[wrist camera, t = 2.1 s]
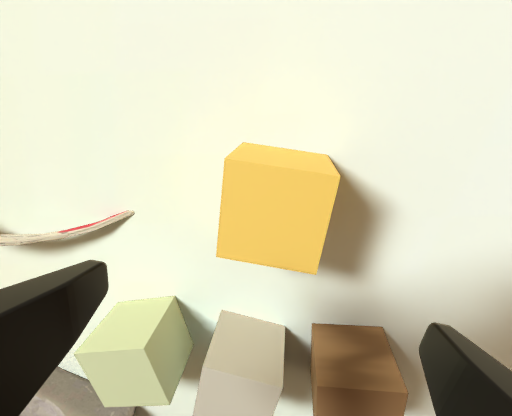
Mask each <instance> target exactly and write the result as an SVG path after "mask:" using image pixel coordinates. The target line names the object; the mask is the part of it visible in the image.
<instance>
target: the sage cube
mask: <svg viewBox="0 0 512 416" xmlns="http://www.w3.org/2000/svg"><path fill="white" fill-rule="evenodd" d="M193 346H194V344H193V342H192V339H191V336H190V334H189V331H188V329H187V326H186V323H185V321H184V318H183V316H182V313H181V310H180V308H179V305H178V302H177V300H176V297H175V296H168V297H159V298H150V299H141V300H132V301H124V302H118V303H117V304H116V305H115V306H114V307H113V309H112V310H111V311H110V312H109V313H108V314H107V316H106V317H105V318H104V319H103V320H102V321H101V323H100V324H99V325H98V326H97V327H96V328H95V330H94V331H93V332H92V333H91V334H90V335H89V337H88V338H87V339H86V340H85V341H84V342H83V344H82V345H81V346H80V347H79V348H78V349H77V351H76V352H75V353H74V355H75V357H76V359H77V360H78V362H79V364H80V366H81V367H82V369H83V371H84V373H85V374H86V376H87V378H88V379H89V381H90V383H91V385H92V386H93V388H94V390H95V392H96V393H97V395H98V397H99V398H100V400H101V402H102V404H103V405H104V407H129V406H158V405H170V403H171V401H172V398H173V396H174V393H175V391H176V388H177V386H178V383H179V381H180V378H181V376H182V373H183V371H184V368H185V366H186V363H187V361H188V358H189V356H190V353H191V351H192V348H193Z"/></svg>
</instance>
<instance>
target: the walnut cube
mask: <svg viewBox="0 0 512 416" xmlns="http://www.w3.org/2000/svg"><path fill="white" fill-rule="evenodd" d="M311 386H312V401H313V416H404V412H405V407H406V402H407V397H408V391H407V389H406V386H405V383H404V381H403V378H402V376H401V373H400V371H399V368H398V366H397V363H396V361H395V358H394V356H393V353H392V350H391V348H390V345H389V343H388V340H387V338H386V335H385V333H384V330H383V328H382V327H375V326H355V325H335V324H314V323H312V338H311Z"/></svg>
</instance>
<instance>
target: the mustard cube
mask: <svg viewBox="0 0 512 416" xmlns="http://www.w3.org/2000/svg"><path fill="white" fill-rule="evenodd" d="M340 177H341V176H340V174H339V173H338V171H337V170H336V168H335V166H334V165H333V163H332V162H331V160H330V158H329V157H328V155H325V154H318V153H312V152H305V151H298V150H292V149H285V148H278V147H272V146H265V145H258V144H252V143H245V142H243V143H242V144H241V145H240V146H238V147H237V148H236V149H235V150H234V151H233V152H231V153H230V154H229V155H228V156H227V157H226V158H225V161H224V172H223V184H222V195H221V207H220V218H219V230H218V242H217V253H216V257H220V258H225V259H231V260H236V261H242V262H247V263H253V264H259V265H264V266H270V267H275V268H281V269H286V270H292V271H298V272H303V273H309V274H314V275H316V273H317V269H318V265H319V261H320V257H321V253H322V249H323V245H324V241H325V237H326V233H327V229H328V225H329V221H330V217H331V213H332V209H333V205H334V201H335V197H336V193H337V189H338V185H339V181H340Z"/></svg>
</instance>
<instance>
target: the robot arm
mask: <svg viewBox="0 0 512 416" xmlns="http://www.w3.org/2000/svg"><path fill="white" fill-rule="evenodd" d="M107 291H108V274H107V265H106V264H105V263H104V262H101V261H96V260H88V261H85V262H82V263H79V264H76V265H73V266H70V267H67V268H64V269H61V270H58V271H54V272H51V273H48V274H45V275H42V276H39V277H36V278H33V279H30V280H27V281H24V282H21V283H18V284H15V285H12V286H9V287H6V288H3V289H0V416H19V415H20V414H21V413H22V411H23V410H24V409H25V408H26V406H27V405H28V404H29V402H30V401H31V400H32V399H33V397H34V396H35V395H36V393H37V392H38V391H39V389H40V388H41V387H42V386H43V384H44V383H45V382H46V380H47V379H48V378H49V376H50V375H51V374H52V373H53V371H54V370H55V369H56V367H57V366H58V365H59V364H60V362H61V361H62V360H63V358H64V357H65V356H66V354H67V353H68V352H69V350H70V349H71V348H72V346H73V345H74V344H75V342H76V341H77V339H78V338H79V336H80V335H81V333H82V332H83V330H84V329H85V327H86V325H87V324H88V322H89V321H90V319H91V318H92V316H93V314H94V313H95V311H96V310H97V308H98V306H99V305H100V303H101V302H102V300H103V299H104V297H105V295H106V294H107ZM419 354H420V358H421V362H422V366H423V370H424V373H425V377H426V381H427V384H428V388H429V392H430V396H431V399H432V403H433V407H434V410H435V413H436V416H512V371H511V370H509V369H508V368H507V367H505V366H504V365H502V364H501V363H500V362H498V361H497V360H496V359H494V358H493V357H492V356H490V355H489V354H487V353H486V352H485V351H483V350H482V349H481V348H479V347H478V346H477V345H475V344H474V343H473V342H471V341H470V340H468V339H467V338H466V337H464V336H463V335H462V334H460V333H459V332H458V331H456V330H455V329H454V328H452V327H451V326H449V325H445V324H440V323H431V324H430V325H429V326H428V328H427V330H426V332H425V334H424V337H423V339H422V341H421V343H420V346H419Z"/></svg>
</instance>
